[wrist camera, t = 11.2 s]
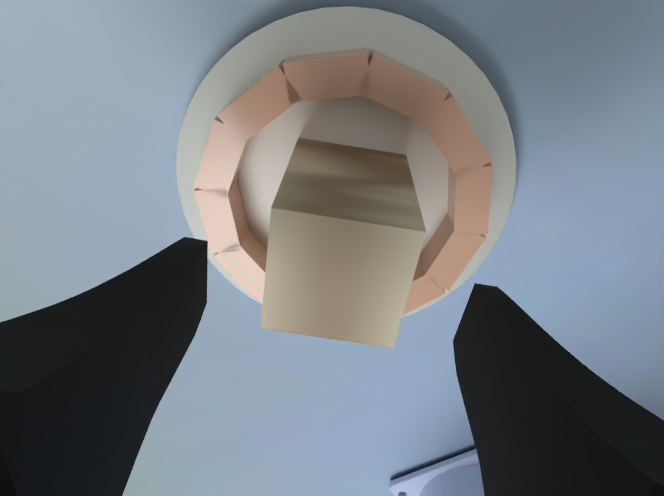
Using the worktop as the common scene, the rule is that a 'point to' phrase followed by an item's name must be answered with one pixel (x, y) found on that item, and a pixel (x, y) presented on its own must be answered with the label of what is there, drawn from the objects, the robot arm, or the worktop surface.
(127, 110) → the worktop surface
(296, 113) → the collar dish
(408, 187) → the beige wooden block
